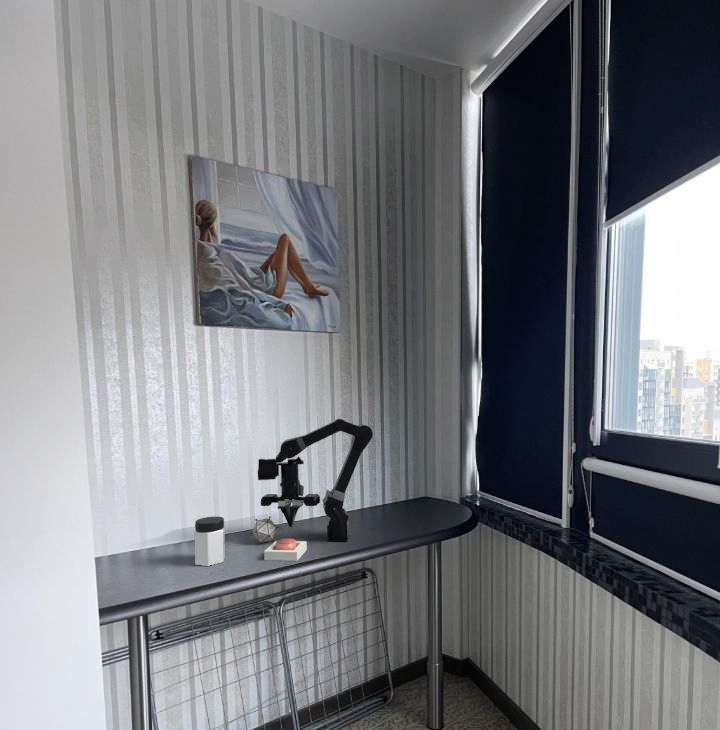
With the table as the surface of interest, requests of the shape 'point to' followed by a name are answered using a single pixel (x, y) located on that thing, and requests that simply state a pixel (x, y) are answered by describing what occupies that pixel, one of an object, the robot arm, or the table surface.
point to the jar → (209, 541)
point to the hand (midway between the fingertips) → (291, 526)
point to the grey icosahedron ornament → (264, 530)
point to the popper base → (285, 552)
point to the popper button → (286, 544)
